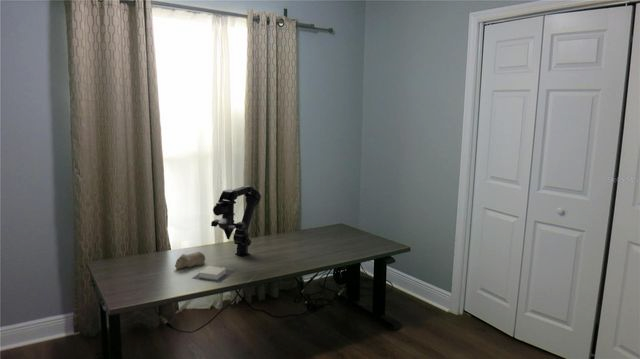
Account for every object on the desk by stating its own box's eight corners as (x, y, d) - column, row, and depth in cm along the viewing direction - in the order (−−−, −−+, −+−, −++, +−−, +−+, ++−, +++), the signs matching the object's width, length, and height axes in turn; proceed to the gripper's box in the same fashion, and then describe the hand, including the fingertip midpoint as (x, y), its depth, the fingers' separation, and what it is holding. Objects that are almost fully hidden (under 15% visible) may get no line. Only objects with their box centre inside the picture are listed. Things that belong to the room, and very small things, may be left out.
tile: (208, 265, 236) (199, 272, 226) (225, 268, 234) (217, 274, 224) (208, 271, 237) (199, 277, 227) (225, 273, 234) (217, 280, 225)
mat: (208, 267, 243) (208, 266, 243) (235, 271, 240) (235, 270, 239) (191, 279, 226) (191, 278, 226) (220, 283, 222) (220, 282, 222)
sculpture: (169, 261, 241) (176, 251, 236) (197, 254, 254) (204, 244, 249) (176, 275, 238) (183, 265, 233) (204, 267, 251) (211, 257, 245)
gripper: (206, 213, 245) (206, 241, 247) (238, 216, 241) (237, 244, 243) (215, 209, 256) (215, 236, 258) (246, 212, 252) (245, 239, 254)
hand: (228, 239), depth 253 cm, fingers closed
